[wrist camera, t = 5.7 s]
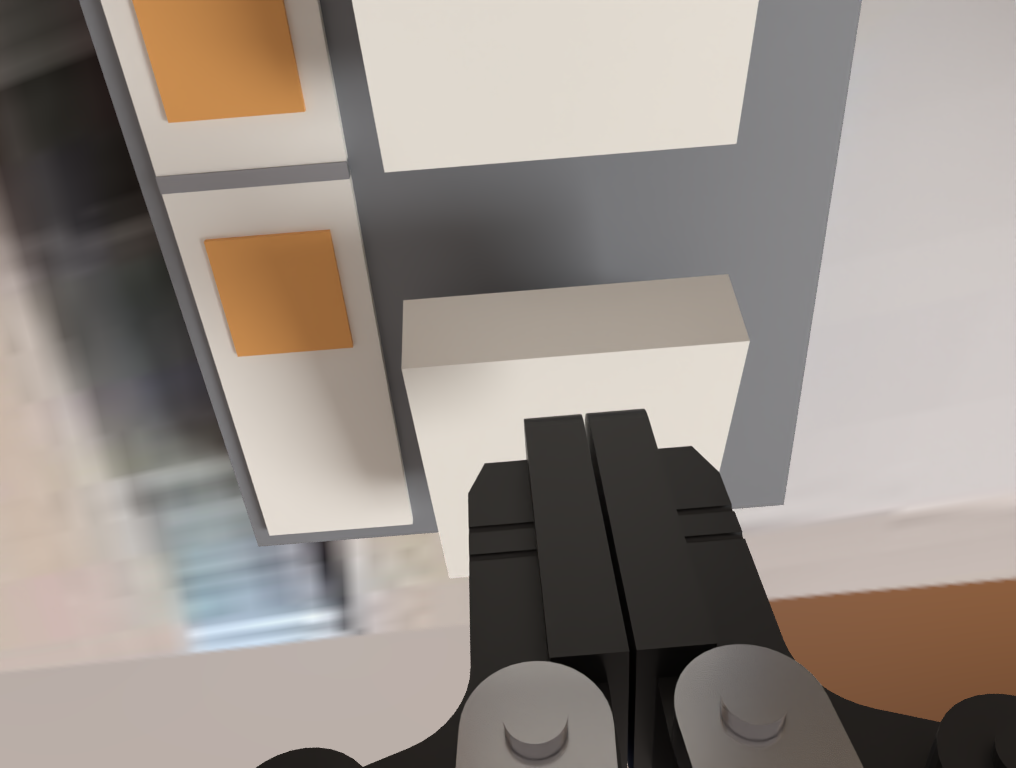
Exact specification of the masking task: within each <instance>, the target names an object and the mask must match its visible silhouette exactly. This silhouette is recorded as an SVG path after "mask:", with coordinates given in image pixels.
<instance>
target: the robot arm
mask: <svg viewBox="0 0 1016 768" xmlns="http://www.w3.org/2000/svg"><path fill="white" fill-rule="evenodd" d="M524 434H525V448H526V460H518V461H506V462H494V463H485V464H484V465H483V467H482V469H481V471H480V473H479V474H478V476H477V478H476V480H475V482H474V484H473V485H472V487H471V489H470V491H469V493H468V527H469V591H470V650H471V651H470V653H471V669H470V680H469V684H468V688H467V691H466V693H465V696H464V698H463V700H462V702H461V704H460V705H459V707H458V709H457V710H456V712H455V713H454V715H453V716H452V717H451V718H450V719H449V720H448V721H447V723H446V724H445V725H444V726H442V727H441V728H440V729H439V730H438V731H437V732H436V733H434V734H433V735H431V736H430V737H428V738H427V739H425V740H424V741H422V742H420V743H418V744H417V745H414V746H412V747H410V748H408V749H406V750H403V751H401V752H398V753H396V754H393V755H391V756H388V757H386V758H384V759H381V760H379V761H376V762H374V763H371V764H369V765H367V766H364V767H362V766H361V765H360V764H359V763H358V762H356V761H355V760H354V759H353V758H350V757H349V756H347V755H345V754H344V753H341V752H338V751H335V750H332V749H325V748H303V749H298V750H292V751H289V752H286V753H283V754H280V755H277V756H275V757H273V758H271V759H269V760H268V761H265V762H264V763H262V764H261V765H259V766H258V767H256V768H627V762H628V767H629V768H1016V696H1012V695H1005V694H985V695H977V696H974V697H971V698H968V699H965V700H963V701H961V702H959V703H957V704H956V705H954V706H953V707H952V708H951V709H950V710H949V711H948V712H947V713H946V714H945V716H944V718H943V719H942V721H941V722H936V721H932V720H927V719H922V718H917V717H912V716H908V715H903V714H898V713H893V712H888V711H883V710H878V709H874V708H870V707H867V706H863V705H859V704H856V703H854V702H852V701H849V700H846V699H844V698H842V697H840V696H838V695H836V694H834V693H832V692H831V691H829V690H827V689H826V688H824V687H823V686H822V685H821V684H820V683H819V682H818V681H817V680H816V678H815V677H814V676H813V675H812V674H811V673H810V672H809V671H808V670H807V669H805V668H804V667H803V666H802V665H801V664H799V663H797V662H796V661H795V660H794V658H793V657H792V655H791V654H790V652H789V651H788V648H787V646H786V645H785V642H784V640H783V637H782V635H781V632H780V630H779V627H778V625H777V622H776V619H775V616H774V614H773V611H772V609H771V606H770V603H769V601H768V598H767V595H766V593H765V590H764V588H763V585H762V582H761V580H760V577H759V575H758V572H757V569H756V567H755V564H754V561H753V559H752V556H751V554H750V551H749V548H748V546H747V543H746V540H745V539H743V537H742V530H741V527H740V525H739V522H738V520H737V517H736V514H735V512H734V511H732V504H731V501H730V499H729V496H728V493H727V491H726V488H725V485H724V483H723V480H722V478H721V475H720V472H719V471H718V470H717V469H715V468H714V467H713V466H712V465H711V464H710V463H709V462H708V461H707V460H706V459H705V458H704V457H703V456H702V455H701V454H700V453H699V452H698V451H697V450H696V449H695V448H693V447H692V446H683V447H671V448H659V449H658V447H657V444H656V441H655V437H654V434H653V431H652V427H651V424H650V421H649V417H648V415H647V412H646V410H645V409H631V410H619V411H607V412H595V413H586V415H585V425H584V421H583V417H582V414H574V415H562V416H550V417H538V418H526V419H524Z"/></svg>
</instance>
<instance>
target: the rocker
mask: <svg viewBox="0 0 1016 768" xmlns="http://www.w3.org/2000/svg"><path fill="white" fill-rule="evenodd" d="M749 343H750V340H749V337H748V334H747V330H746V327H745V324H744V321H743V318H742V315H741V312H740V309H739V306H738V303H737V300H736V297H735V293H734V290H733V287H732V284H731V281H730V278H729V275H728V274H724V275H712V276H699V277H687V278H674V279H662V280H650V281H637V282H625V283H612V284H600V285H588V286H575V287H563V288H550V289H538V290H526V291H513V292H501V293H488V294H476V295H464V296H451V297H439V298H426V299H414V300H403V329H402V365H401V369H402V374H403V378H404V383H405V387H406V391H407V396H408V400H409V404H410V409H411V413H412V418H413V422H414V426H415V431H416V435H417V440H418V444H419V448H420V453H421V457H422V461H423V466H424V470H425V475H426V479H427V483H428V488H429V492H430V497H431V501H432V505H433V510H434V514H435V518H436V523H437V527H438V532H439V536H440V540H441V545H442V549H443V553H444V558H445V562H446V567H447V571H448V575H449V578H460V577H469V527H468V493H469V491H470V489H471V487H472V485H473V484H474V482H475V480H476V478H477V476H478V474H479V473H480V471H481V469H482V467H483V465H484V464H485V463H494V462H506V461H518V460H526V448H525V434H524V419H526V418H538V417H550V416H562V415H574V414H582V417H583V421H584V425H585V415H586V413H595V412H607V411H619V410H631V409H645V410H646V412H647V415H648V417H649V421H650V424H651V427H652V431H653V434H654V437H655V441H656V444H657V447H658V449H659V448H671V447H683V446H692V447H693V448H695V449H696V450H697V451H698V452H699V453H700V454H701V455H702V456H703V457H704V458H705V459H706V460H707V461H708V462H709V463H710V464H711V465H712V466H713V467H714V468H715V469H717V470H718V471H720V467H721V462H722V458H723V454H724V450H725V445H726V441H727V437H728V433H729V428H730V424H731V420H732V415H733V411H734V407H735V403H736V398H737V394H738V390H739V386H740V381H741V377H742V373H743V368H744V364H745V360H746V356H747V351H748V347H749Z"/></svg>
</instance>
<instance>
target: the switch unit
mask: <svg viewBox="0 0 1016 768" xmlns="http://www.w3.org/2000/svg"><path fill="white" fill-rule="evenodd" d="M79 2H80V5H81V8H82V11H83V14H84V17H85V20H86V23H87V26H88V29H89V32H90V35H91V38H92V41H93V45H94V48H95V51H96V54H97V57H98V60H99V63H100V66H101V69H102V72H103V75H104V78H105V81H106V84H107V87H108V90H109V93H110V96H111V99H112V102H113V105H114V108H115V111H116V114H117V117H118V121H119V124H120V127H121V130H122V133H123V136H124V139H125V142H126V145H127V148H128V151H129V154H130V157H131V160H132V163H133V166H134V169H135V172H136V175H137V178H138V181H139V184H140V187H141V190H142V193H143V197H144V200H145V203H146V206H147V209H148V212H149V215H150V218H151V221H152V224H153V227H154V230H155V233H156V236H157V239H158V242H159V245H160V248H161V251H162V254H163V257H164V260H165V263H166V266H167V269H168V273H169V276H170V279H171V282H172V285H173V288H174V291H175V294H176V297H177V300H178V303H179V306H180V309H181V312H182V315H183V318H184V321H185V324H186V327H187V330H188V333H189V336H190V339H191V342H192V345H193V349H194V352H195V355H196V358H197V361H198V364H199V367H200V370H201V373H202V376H203V379H204V382H205V385H206V388H207V391H208V394H209V397H210V400H211V403H212V406H213V409H214V412H215V415H216V418H217V422H218V425H219V428H220V431H221V434H222V437H223V440H224V443H225V446H226V449H227V452H228V455H229V458H230V461H231V464H232V467H233V470H234V473H235V476H236V479H237V482H238V485H239V488H240V491H241V494H242V498H243V501H244V504H245V507H246V510H247V513H248V516H249V519H250V522H251V525H252V528H253V531H254V534H255V537H256V540H257V543H258V546H271V545H284V544H296V543H309V542H321V541H334V540H347V539H359V538H372V537H384V536H397V535H410V534H422V533H435V532H438V527H437V523H436V518H435V514H434V510H433V505H432V501H431V497H430V492H429V488H428V483H427V479H426V475H425V470H424V466H423V461H422V457H421V453H420V448H419V444H418V440H417V435H416V431H415V426H414V422H413V418H412V413H411V409H410V404H409V400H408V396H407V391H406V387H405V383H404V378H403V374H402V369H401V365H402V329H403V300H414V299H426V298H439V297H451V296H464V295H476V294H488V293H501V292H513V291H526V290H538V289H550V288H563V287H575V286H588V285H600V284H612V283H625V282H637V281H650V280H662V279H674V278H687V277H699V276H712V275H724V274H728V275H729V278H730V281H731V284H732V287H733V290H734V293H735V297H736V300H737V303H738V306H739V309H740V312H741V315H742V318H743V321H744V324H745V327H746V330H747V334H748V337H749V340H750V343H749V347H748V351H747V356H746V360H745V364H744V368H743V373H742V377H741V381H740V386H739V390H738V394H737V398H736V403H735V407H734V411H733V415H732V420H731V424H730V428H729V433H728V437H727V441H726V445H725V450H724V454H723V458H722V462H721V467H720V471H719V472H720V475H721V478H722V480H723V483H724V485H725V488H726V491H727V493H728V496H729V499H730V501H731V504H732V509H737V508H750V507H763V506H775V505H784V499H785V492H786V486H787V479H788V473H789V466H790V460H791V453H792V447H793V441H794V434H795V428H796V421H797V415H798V408H799V402H800V395H801V389H802V383H803V376H804V370H805V363H806V357H807V350H808V344H809V337H810V331H811V324H812V318H813V312H814V305H815V299H816V292H817V286H818V279H819V273H820V266H821V260H822V254H823V247H824V241H825V234H826V228H827V221H828V215H829V208H830V202H831V195H832V189H833V183H834V176H835V170H836V163H837V157H838V150H839V144H840V137H841V131H842V124H843V118H844V112H845V105H846V99H847V92H848V86H849V79H850V73H851V66H852V60H853V54H854V47H855V41H856V34H857V28H858V21H859V15H860V8H861V2H862V0H759V3H758V9H757V15H756V22H755V28H754V35H753V41H752V47H751V54H750V60H749V67H748V73H747V79H746V86H745V92H744V99H743V105H742V111H741V118H740V124H739V131H738V137H737V143H736V144H729V145H716V146H704V147H692V148H679V149H667V150H655V151H643V152H630V153H618V154H606V155H593V156H581V157H569V158H556V159H544V160H532V161H520V162H507V163H495V164H483V165H470V166H458V167H446V168H434V169H421V170H409V171H397V172H384V167H383V161H382V156H381V151H380V146H379V140H378V135H377V130H376V125H375V119H374V114H373V109H372V104H371V98H370V93H369V88H368V83H367V77H366V72H365V67H364V62H363V56H362V51H361V46H360V41H359V35H358V30H357V25H356V20H355V14H354V9H353V4H352V0H79Z"/></svg>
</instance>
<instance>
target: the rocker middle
mask: <svg viewBox="0 0 1016 768" xmlns="http://www.w3.org/2000/svg"><path fill="white" fill-rule="evenodd" d="M758 3H759V0H352V4H353V9H354V14H355V20H356V25H357V30H358V35H359V41H360V46H361V51H362V56H363V62H364V67H365V72H366V77H367V83H368V88H369V93H370V98H371V104H372V109H373V114H374V119H375V125H376V130H377V135H378V140H379V146H380V151H381V156H382V161H383V167H384V172H397V171H409V170H421V169H434V168H446V167H458V166H470V165H483V164H495V163H507V162H520V161H532V160H544V159H556V158H569V157H581V156H593V155H606V154H618V153H630V152H643V151H655V150H667V149H679V148H692V147H704V146H716V145H729V144H736V143H737V137H738V131H739V124H740V118H741V111H742V105H743V99H744V92H745V86H746V79H747V73H748V67H749V60H750V54H751V47H752V41H753V35H754V28H755V22H756V15H757V9H758Z"/></svg>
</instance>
